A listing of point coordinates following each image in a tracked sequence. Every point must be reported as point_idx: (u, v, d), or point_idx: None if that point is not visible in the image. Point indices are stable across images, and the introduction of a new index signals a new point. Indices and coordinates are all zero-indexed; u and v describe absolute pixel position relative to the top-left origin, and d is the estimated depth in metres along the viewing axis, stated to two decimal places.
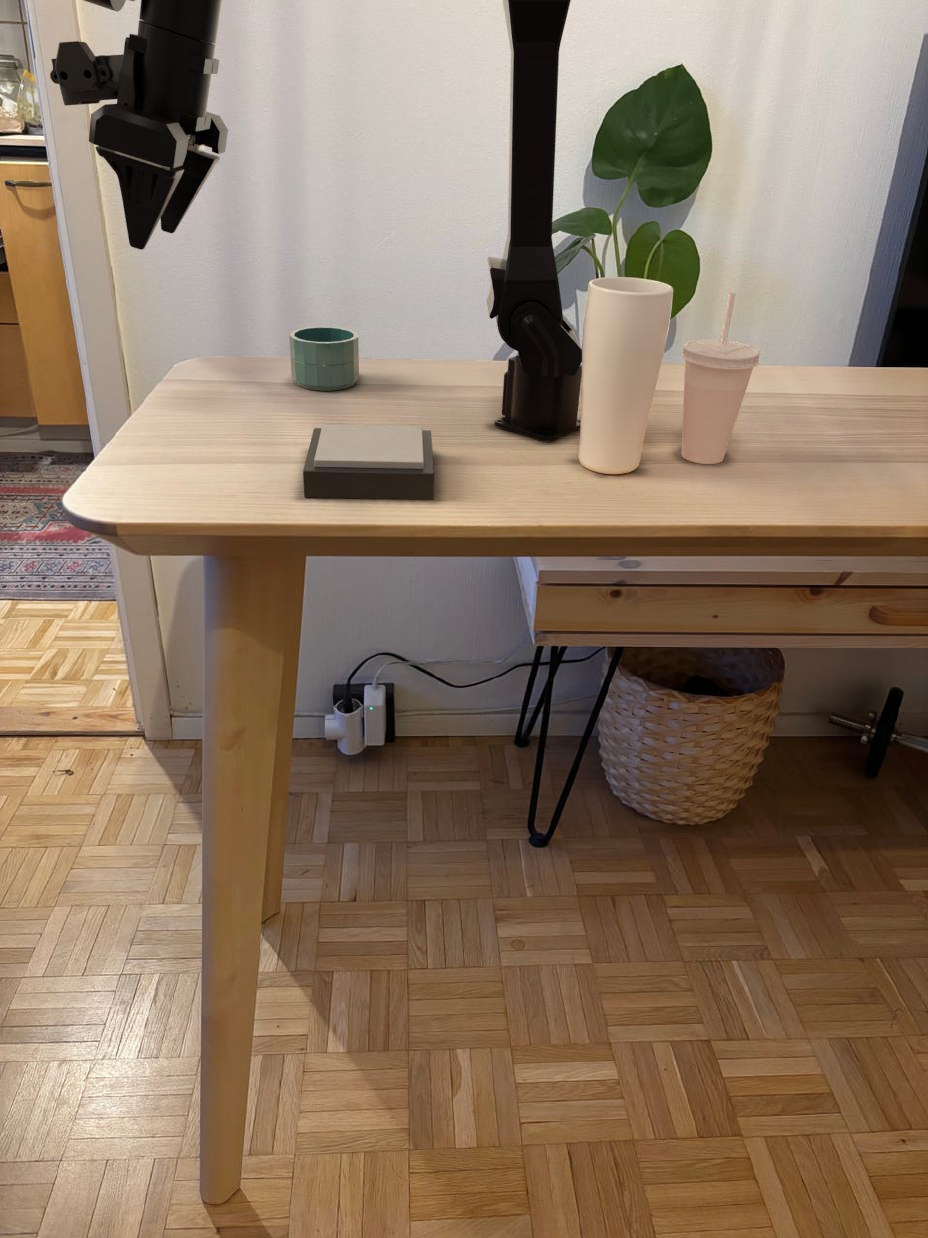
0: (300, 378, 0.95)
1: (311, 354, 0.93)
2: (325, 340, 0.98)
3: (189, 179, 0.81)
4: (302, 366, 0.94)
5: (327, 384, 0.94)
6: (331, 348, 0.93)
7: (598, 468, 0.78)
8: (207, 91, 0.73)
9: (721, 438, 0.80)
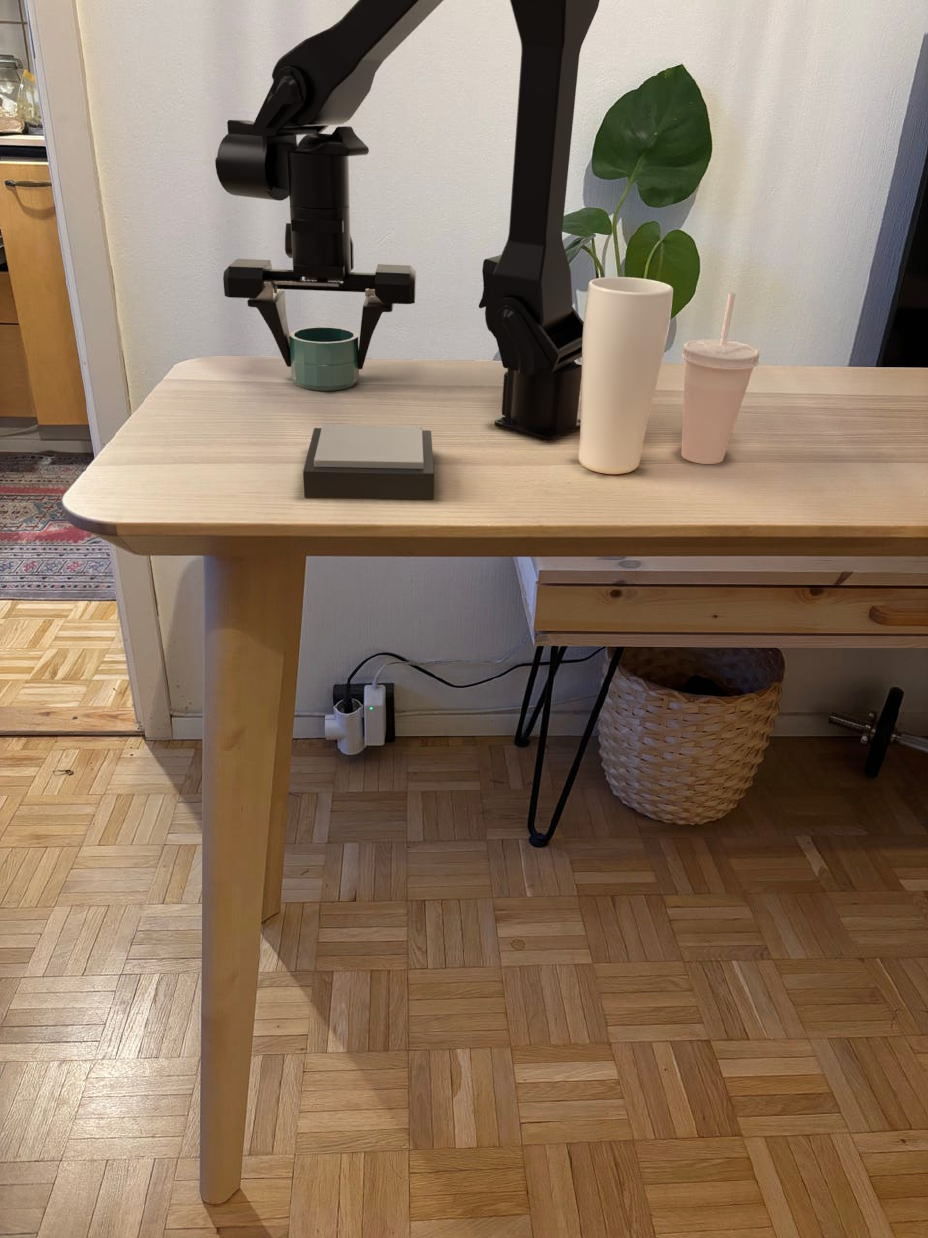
0: (300, 378, 0.95)
1: (311, 354, 0.93)
2: (325, 340, 0.98)
3: None
4: (301, 366, 0.94)
5: (327, 384, 0.94)
6: (331, 348, 0.93)
7: (598, 468, 0.78)
8: (315, 246, 0.88)
9: (721, 438, 0.80)
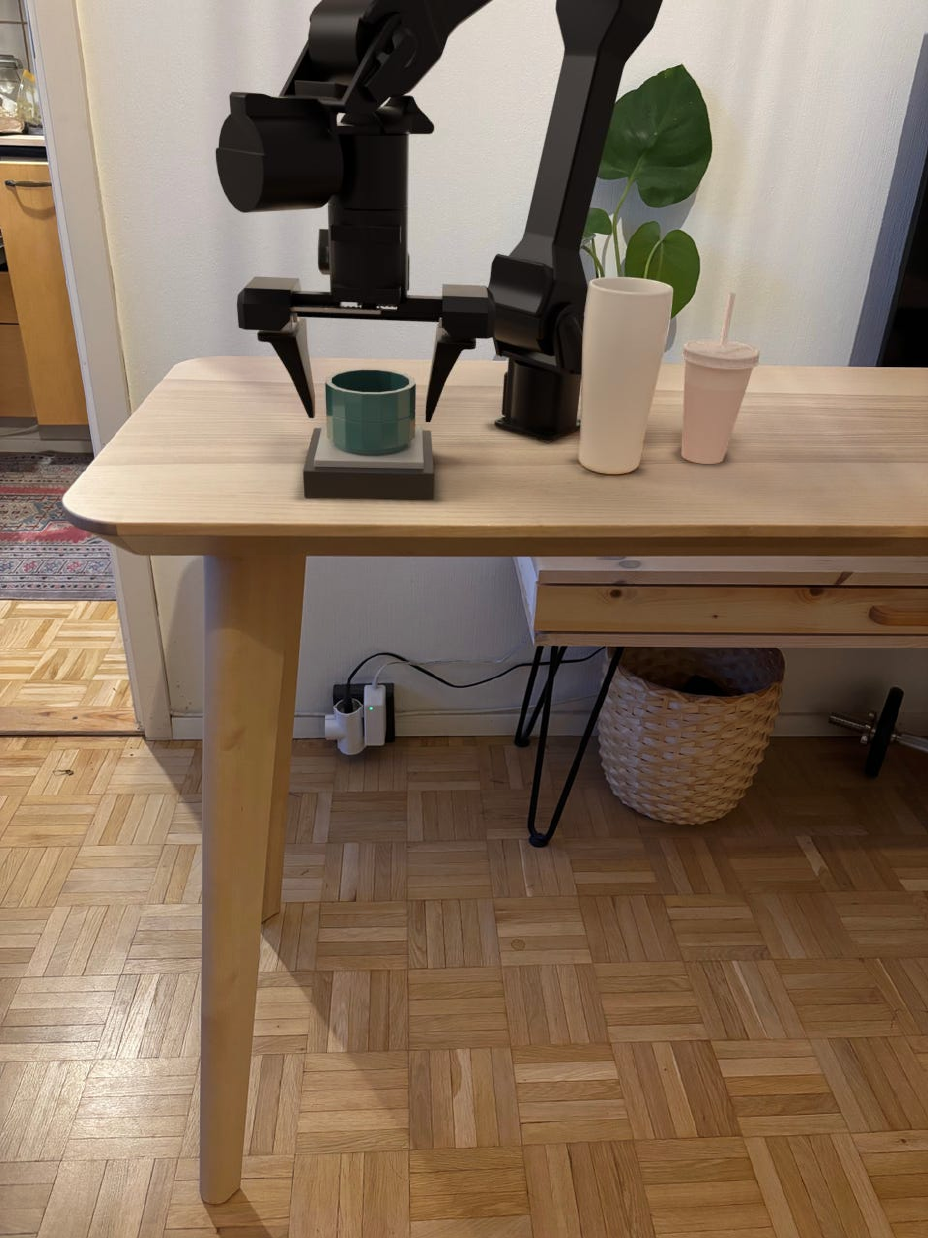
0: (339, 439, 0.72)
1: (355, 408, 0.70)
2: (370, 386, 0.75)
3: (432, 364, 0.70)
4: (341, 424, 0.71)
5: (375, 447, 0.71)
6: (382, 401, 0.69)
7: (598, 468, 0.78)
8: (363, 261, 0.65)
9: (721, 438, 0.80)
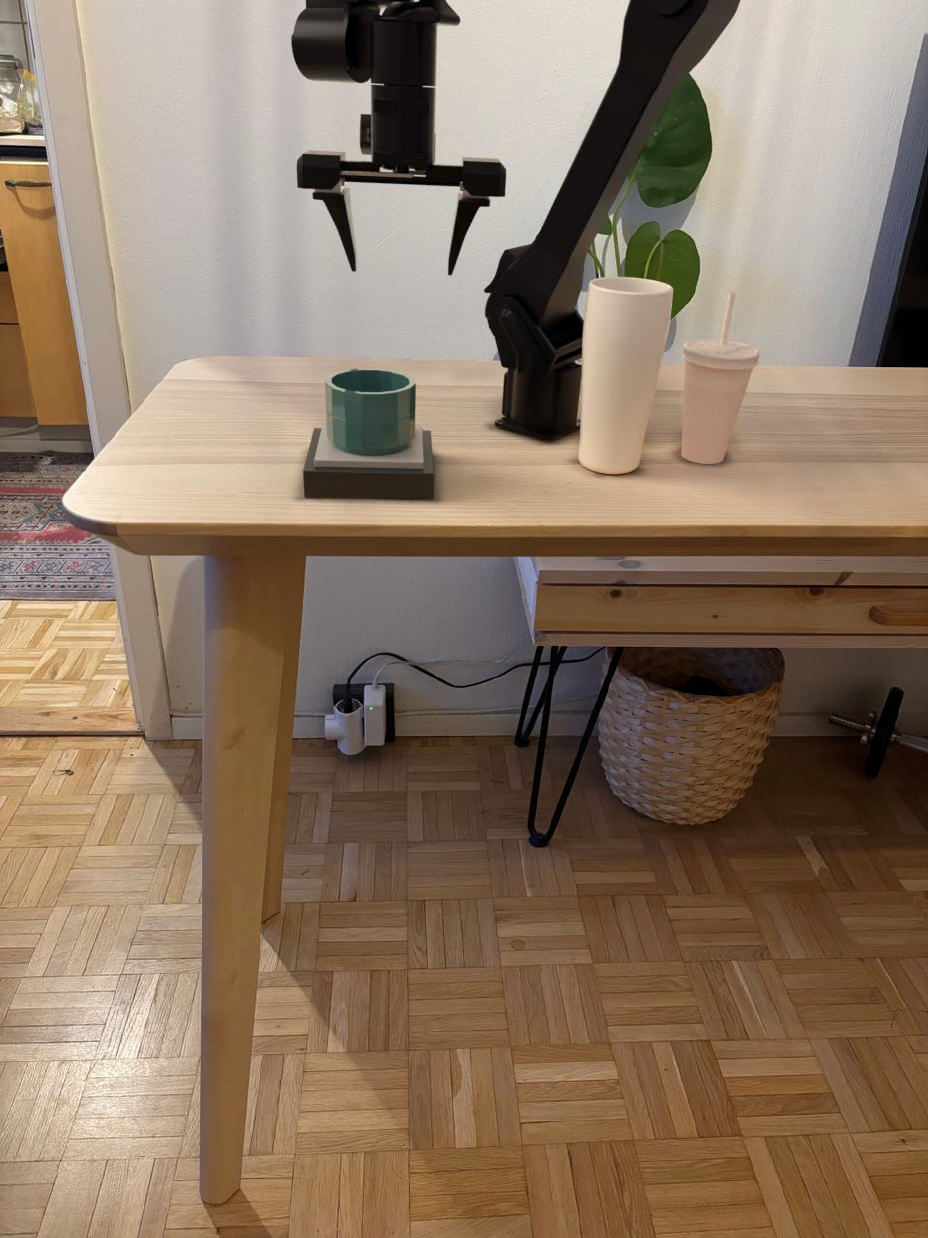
0: (339, 439, 0.72)
1: (355, 408, 0.70)
2: (370, 386, 0.75)
3: (454, 222, 0.86)
4: (341, 424, 0.71)
5: (375, 447, 0.71)
6: (382, 401, 0.69)
7: (598, 468, 0.78)
8: (399, 129, 0.80)
9: (721, 438, 0.80)
